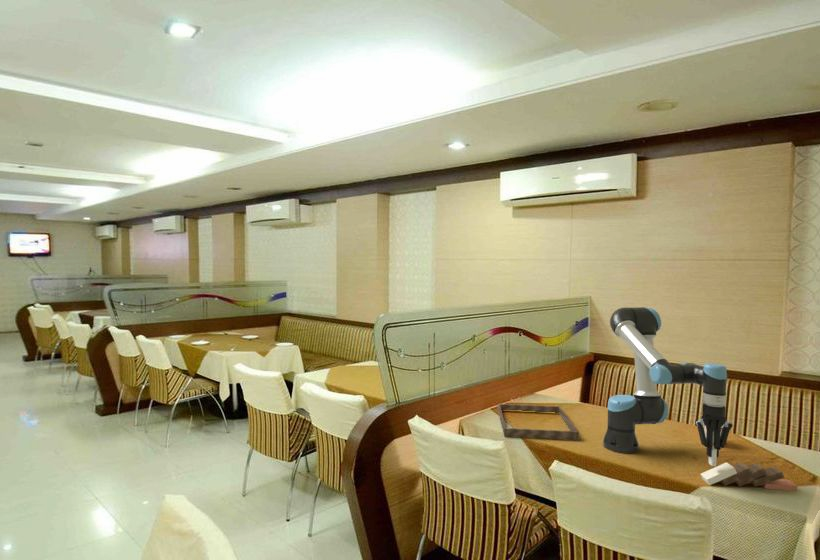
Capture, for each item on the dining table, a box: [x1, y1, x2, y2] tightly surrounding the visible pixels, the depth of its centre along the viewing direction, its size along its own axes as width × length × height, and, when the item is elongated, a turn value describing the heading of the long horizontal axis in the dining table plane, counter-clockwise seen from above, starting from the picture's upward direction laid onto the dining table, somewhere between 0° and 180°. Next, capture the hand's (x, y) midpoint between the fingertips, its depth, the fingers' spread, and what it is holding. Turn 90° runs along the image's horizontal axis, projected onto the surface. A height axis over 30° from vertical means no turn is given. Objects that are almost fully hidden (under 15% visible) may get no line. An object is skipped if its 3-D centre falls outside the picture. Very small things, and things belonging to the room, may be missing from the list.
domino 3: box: [733, 462, 767, 488], centre depth 181 cm, size 2×5×11 cm
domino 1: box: [700, 461, 737, 486], centre depth 182 cm, size 2×5×11 cm
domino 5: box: [760, 478, 798, 491], centre depth 180 cm, size 2×5×11 cm
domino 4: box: [749, 465, 785, 488], centre depth 181 cm, size 2×5×11 cm
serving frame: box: [497, 403, 579, 441], centre depth 249 cm, size 35×42×4 cm
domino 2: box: [718, 462, 752, 487], centre depth 182 cm, size 2×5×11 cm
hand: (712, 464), depth 182 cm, fingers closed
